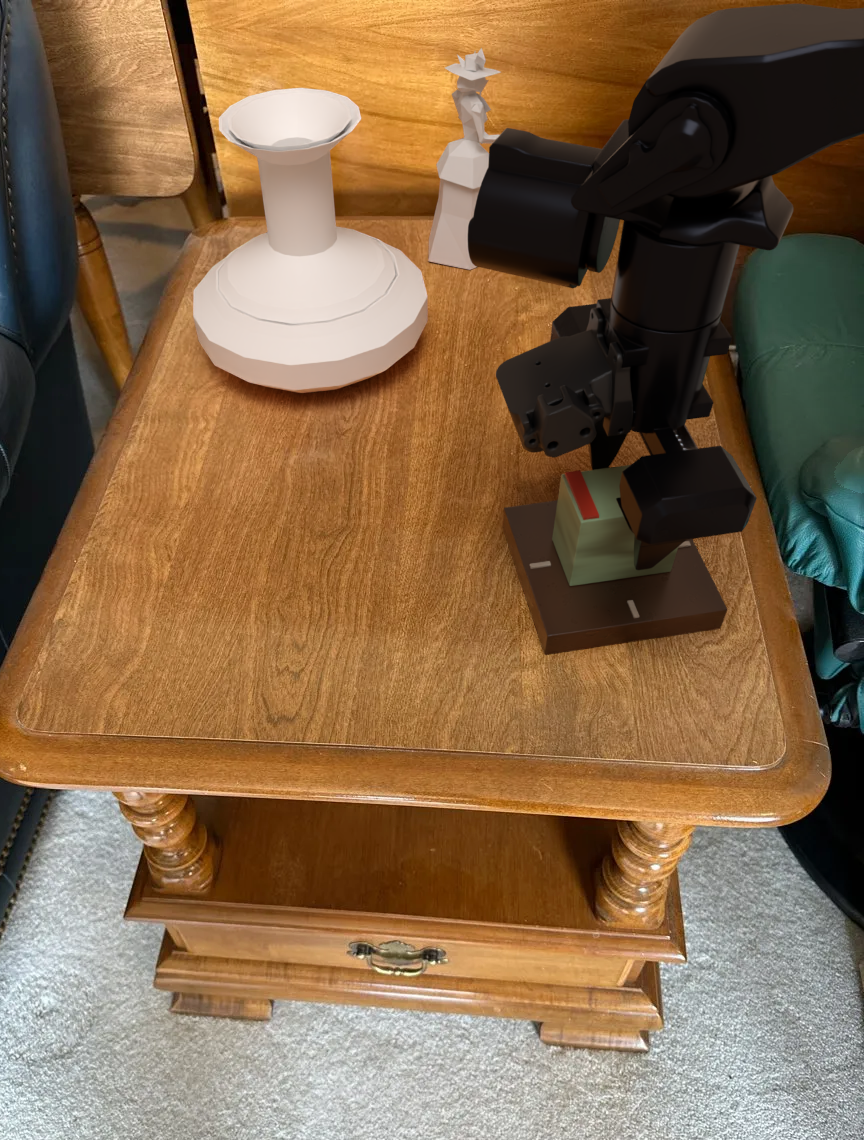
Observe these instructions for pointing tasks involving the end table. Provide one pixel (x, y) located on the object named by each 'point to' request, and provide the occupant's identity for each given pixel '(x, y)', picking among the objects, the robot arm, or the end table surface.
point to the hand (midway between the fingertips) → (620, 516)
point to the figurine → (462, 166)
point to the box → (596, 529)
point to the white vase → (305, 262)
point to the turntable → (606, 591)
